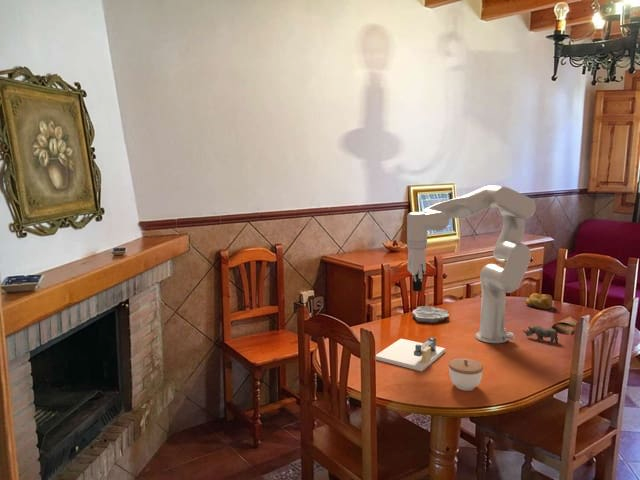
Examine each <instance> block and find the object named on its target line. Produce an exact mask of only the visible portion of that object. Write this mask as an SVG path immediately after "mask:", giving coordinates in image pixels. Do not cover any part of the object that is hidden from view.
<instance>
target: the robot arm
mask: <svg viewBox="0 0 640 480" xmlns="http://www.w3.org/2000/svg"><path fill="white" fill-rule="evenodd" d="M490 208H496V209H498V212H499V213H500V215H501V218H502V221H503V223H502V224H503V225H502V229H501V232H500V235H499V237H498V239H497V241H496V244H495V246H494V249H493V252H492V253H493V257H494V259H495V260H496V261H498V262H501V263H503V264H505V265H501V264H498V263H487V264H486V265H484V266H482V269H481V270H480V274H479V275H480V276H479V280H480V286H481V300H480V301H481V302H480V303H481V304H480V320H479V321H480V322H479V324H480V325H479V331H478V332H476V333H475V338H476V339H477V340H479V341H481V342H484V343H488V344H503V343H506V342H507V341H508V339H510V340H515V337H516V336H515V334H514V333H513V332H508V331H507V328H506V327H505V322H506V304H507V298H506V297H507V296H506V295H507V294H506V293H514V292H515V291H516V290H518V289H519V287H520V286H521V284H522V281H523V279H524V276H525V274H526V272H527V270H528V267H529V265H530V262H531V258H532V254H531V249H530V247H529V246H528V245H526V244H525V243H522V241H523V238H524V234H525V230H526V228H525V221H524V220H526V219H530V218H531V217H533V216H534V215H535V212H536V211H537V210H536V209H537V206H536V203H535V201H534V200H533V199H532V198H530V197H528V196H527V195H525V194H523V193H520V192H518V191H516V190H514V189H512V188H510V187H508V186H506V185H505V186H504V185H493V184H492V185H491V184H490V185H486V186H483V187H481V188H478V189H476V190H474V191H472V192H469V193H467V194H465V195H462V196H460V197H456V198H455V197H454V198H452V199H448V200H445V201H441V202H438V203H435V204H433V205H431V206H429V207H426V208H424V209H423V210H421V211H414V212H413V211H412V212H409V213H408V214H407V216H406V230H407V231H406V239H407V240H406V243H407V244H406V246H407V248H406V249H407V250H408V251H407V268H406V269H407V271H408V272H409V273H410V274H411V275H412V291H413V292H421V291H423V289H422V288H423V286H422V285H423V281H422V280H423V276H424V275H425V274H426V270H427V268H426V267H427V264H426V250H427V249H428V231H434V232H440V231H444V230H446V229H447V228H448V226H449V224H450V220H451V219H463V218H464V219H465V218H470V217H472V216H475V215H476V214H480V213H482V212H484V211H486V210H489V209H490Z"/></svg>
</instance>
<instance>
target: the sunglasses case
mask: <svg viewBox="0 0 640 480" xmlns="http://www.w3.org/2000/svg"><path fill="white" fill-rule="evenodd" d="M576 323H577V320H576V319H575V318H573V317H571V316H568V317H566V318H564V319H562V320H560V321H558V322H556V323H554V324H553V325H552V326H551V328H552V329H555V330H556V331H557V334H562V335H567V336H572V335H573V334H575V332H574V330H575V326H576Z"/></svg>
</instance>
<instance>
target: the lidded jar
mask: <svg viewBox="0 0 640 480" xmlns="http://www.w3.org/2000/svg"><path fill="white" fill-rule="evenodd" d="M483 370H484V368H483V364H482V363H481V362H480V361H477V360H475V359H471V358H465V357H462V358H461V357H460V358H458V357H457V358H454V359H451V360H450V361H448V372H449V378H450V380H451V382H452V384H453V385H454V387H456V388H457V389H458V390H461V391H467V392H469V391H473V390H474V389H475V388H476V387H477V386H478V385H480V383H481V381H482V377H483Z"/></svg>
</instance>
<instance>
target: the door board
mask: <svg viewBox="0 0 640 480" xmlns="http://www.w3.org/2000/svg"><path fill="white" fill-rule="evenodd" d="M424 343H425V342H419V341H415V340H409V339H405V338H399V339H398V340H397V341H395V342H393V343H392V344H391V345H389V346H387V347H385V348H384V349H383V350H381V351H380V352H379V353H376V361H380V362H384V363H387V364H391V365H396V366H399V367H403V368H406V369H407V368H408V369H410V370H413V371H414V370H415V371H419V372H423V371H424V370H426V369H427V368H428V367H429V366H430V365H432V364H433V363H434V362H436V360H438V358H440V357H441V356H442V355H444V353H446V348H445V347H441V346H437V345H436V350H435V351H431V347H428V346H427V347H426V348H425V349H423V350H422V356H420V357H419V356H415V355H414V351H415V346H416V345H422V344H424Z"/></svg>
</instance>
